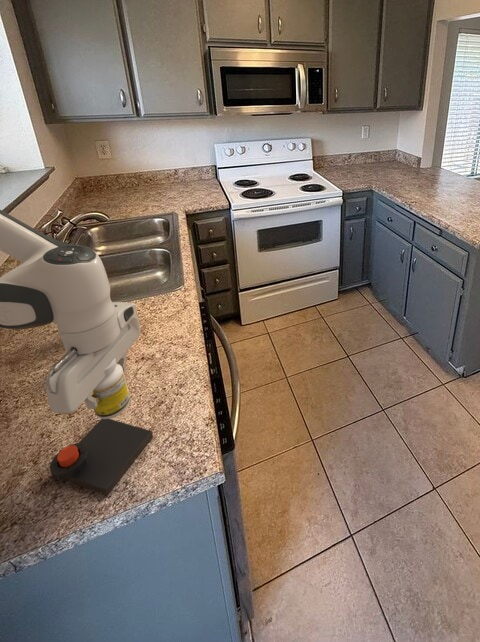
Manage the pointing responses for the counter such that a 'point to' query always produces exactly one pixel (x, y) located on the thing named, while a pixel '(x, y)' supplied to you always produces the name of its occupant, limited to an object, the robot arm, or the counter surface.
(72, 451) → the button
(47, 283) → the robot arm
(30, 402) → the counter surface
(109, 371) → the pill bottle
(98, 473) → the black kitchen scale
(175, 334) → the counter surface
